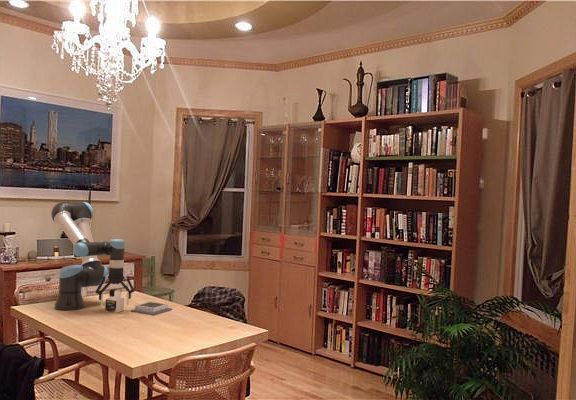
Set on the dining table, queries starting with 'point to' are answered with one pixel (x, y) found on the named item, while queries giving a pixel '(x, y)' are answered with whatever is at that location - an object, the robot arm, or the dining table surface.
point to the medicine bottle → (114, 302)
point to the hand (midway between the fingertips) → (114, 305)
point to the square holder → (151, 308)
